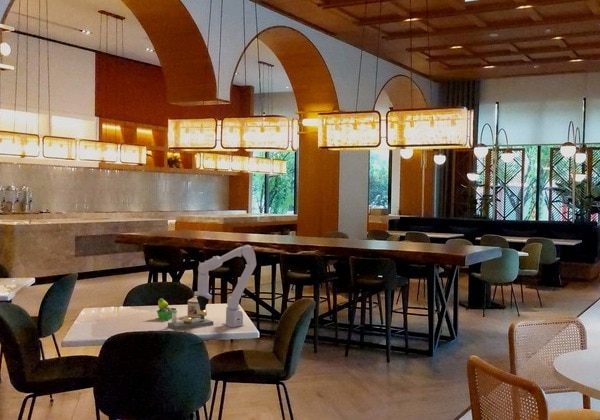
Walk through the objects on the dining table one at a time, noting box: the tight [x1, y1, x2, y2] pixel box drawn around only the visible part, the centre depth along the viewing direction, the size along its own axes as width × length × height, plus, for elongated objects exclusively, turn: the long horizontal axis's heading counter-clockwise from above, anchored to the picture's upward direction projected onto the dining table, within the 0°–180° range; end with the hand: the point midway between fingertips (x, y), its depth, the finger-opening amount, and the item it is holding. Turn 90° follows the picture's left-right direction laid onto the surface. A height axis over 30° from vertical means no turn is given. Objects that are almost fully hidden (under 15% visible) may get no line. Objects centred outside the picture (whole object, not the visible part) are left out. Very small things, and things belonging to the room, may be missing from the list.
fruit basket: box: [156, 297, 177, 321], centre depth 373 cm, size 11×9×11 cm
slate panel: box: [167, 318, 214, 331], centre depth 356 cm, size 10×22×2 cm, turn 130°
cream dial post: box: [171, 309, 178, 324], centre depth 352 cm, size 3×3×7 cm
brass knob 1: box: [183, 316, 193, 324], centre depth 354 cm, size 4×4×4 cm
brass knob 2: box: [198, 309, 208, 319], centre depth 359 cm, size 4×4×4 cm
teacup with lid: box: [186, 295, 207, 319], centre depth 381 cm, size 12×9×12 cm
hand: (202, 310), depth 359 cm, fingers closed
